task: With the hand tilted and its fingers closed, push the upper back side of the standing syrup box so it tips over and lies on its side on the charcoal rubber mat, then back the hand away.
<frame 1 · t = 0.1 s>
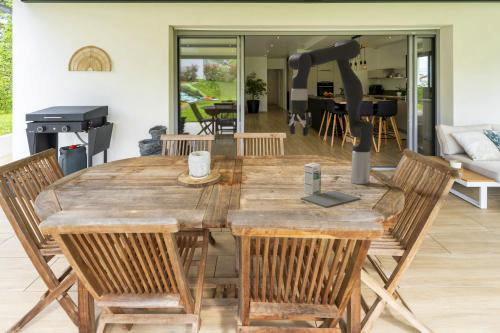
hand: (298, 134, 176), 29 cm above the table, tool pointing down, fingers open, 8 cm apart
charcoal mat: (330, 199, 176), on the table
syrup box: (312, 193, 186), on the table
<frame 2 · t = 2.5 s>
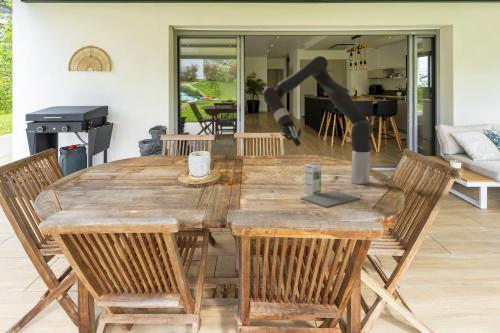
hand: (298, 145, 192), 22 cm above the table, tool tilted 45°, fingers closed
nothing on the table moved.
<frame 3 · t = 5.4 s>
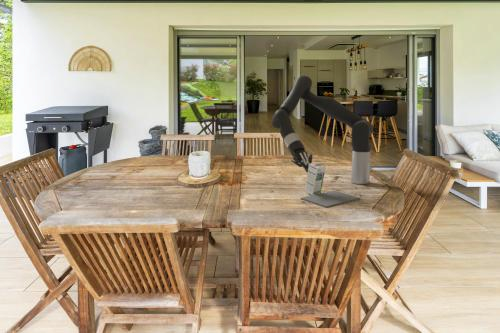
hand: (310, 172, 184), 10 cm above the table, tool tilted 45°, fingers closed
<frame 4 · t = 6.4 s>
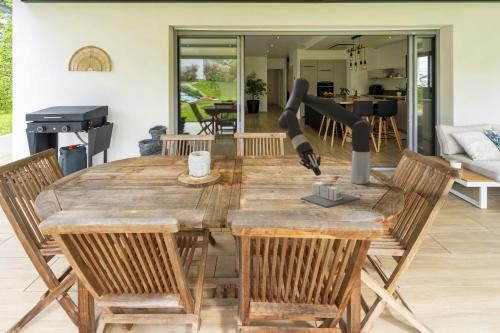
hand: (318, 174, 180), 10 cm above the table, tool tilted 45°, fingers closed
syrup box: (315, 187, 183), point 4 cm above the table, touching charcoal mat
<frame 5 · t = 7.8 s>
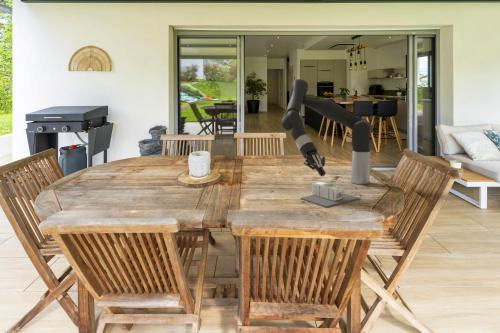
hand: (323, 175, 178), 10 cm above the table, tool tilted 45°, fingers closed
nothing on the table moved.
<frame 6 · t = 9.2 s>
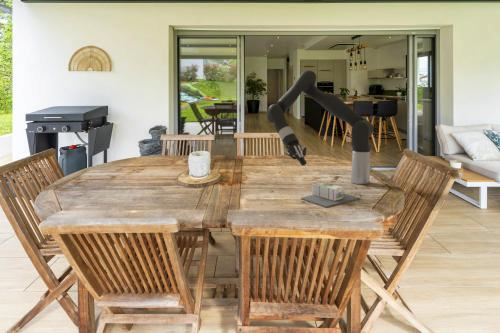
hand: (304, 164, 188), 13 cm above the table, tool tilted 45°, fingers closed
nothing on the table moved.
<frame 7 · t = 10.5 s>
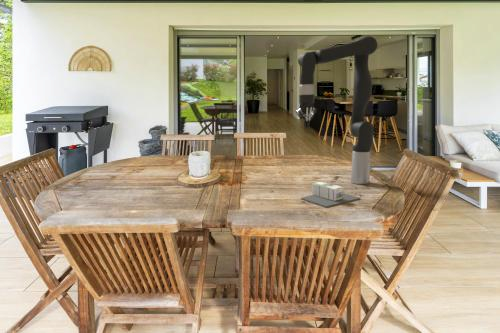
hand: (306, 128, 195), 30 cm above the table, tool pointing down, fingers closed
nothing on the table moved.
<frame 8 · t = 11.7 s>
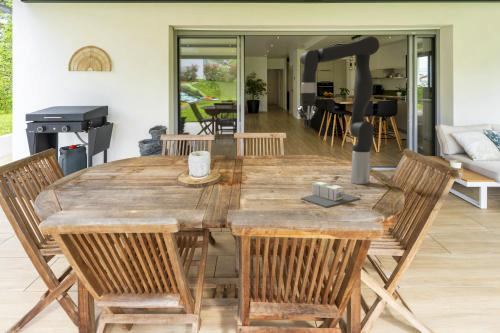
hand: (307, 126, 194), 31 cm above the table, tool pointing down, fingers closed
nothing on the table moved.
at the end: syrup box tilted 90°; syrup box touching charcoal mat; syrup box inside the target area (7.4 cm from its centre), point 3.6 cm above the table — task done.
